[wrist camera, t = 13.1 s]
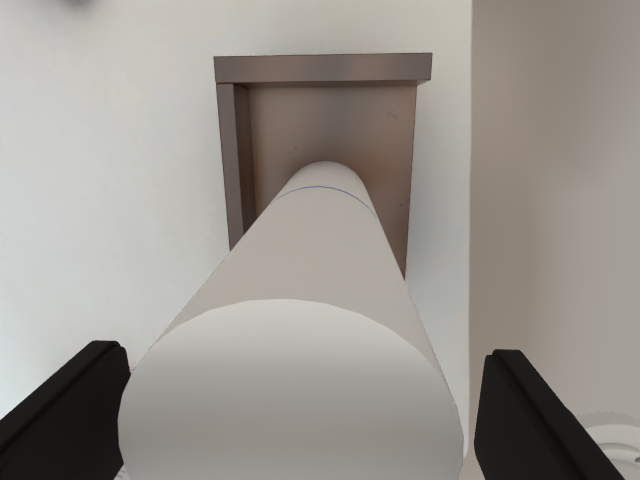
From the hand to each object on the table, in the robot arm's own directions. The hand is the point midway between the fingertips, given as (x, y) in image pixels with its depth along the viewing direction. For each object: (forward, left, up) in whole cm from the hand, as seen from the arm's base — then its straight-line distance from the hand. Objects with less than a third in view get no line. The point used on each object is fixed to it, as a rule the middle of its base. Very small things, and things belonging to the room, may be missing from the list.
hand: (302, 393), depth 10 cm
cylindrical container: (0, 0, -23) cm, 23 cm away
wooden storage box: (0, 0, -33) cm, 33 cm away
